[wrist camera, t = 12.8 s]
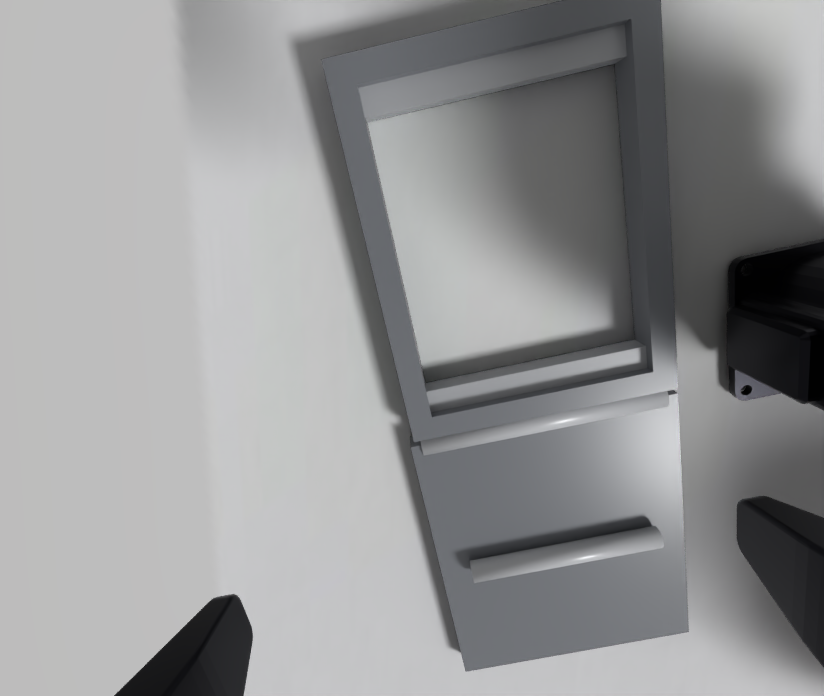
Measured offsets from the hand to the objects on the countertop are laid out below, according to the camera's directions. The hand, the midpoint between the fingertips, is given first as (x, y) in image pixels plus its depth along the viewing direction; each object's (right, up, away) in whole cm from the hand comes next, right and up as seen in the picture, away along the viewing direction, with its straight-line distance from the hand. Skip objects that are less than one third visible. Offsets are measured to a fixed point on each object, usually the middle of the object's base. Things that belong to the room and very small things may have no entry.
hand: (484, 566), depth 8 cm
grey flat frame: (+4, +2, +13) cm, 14 cm away
